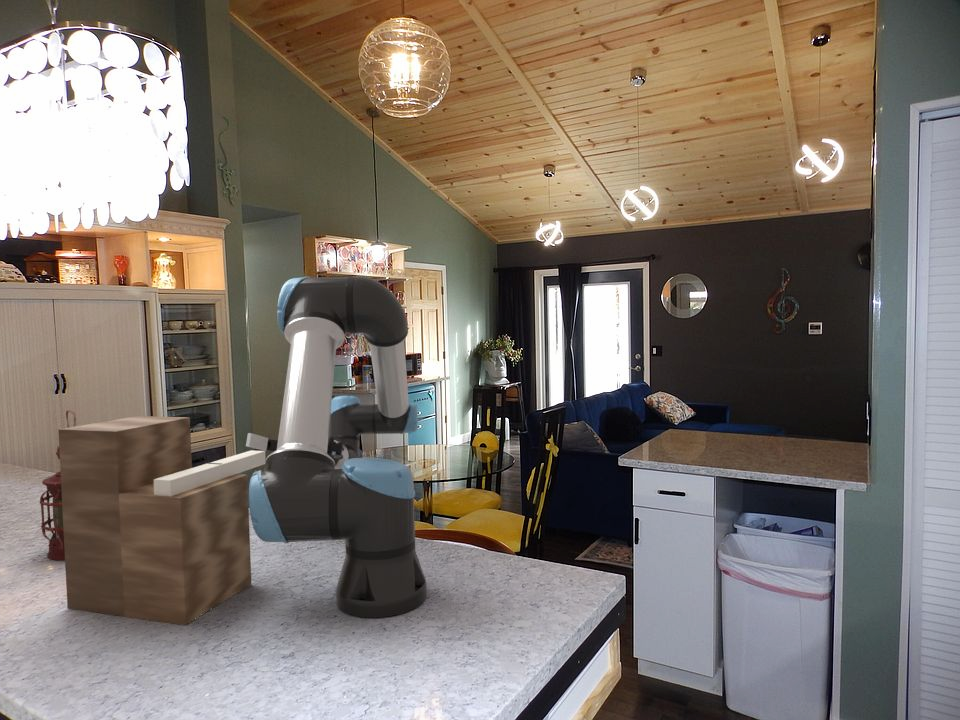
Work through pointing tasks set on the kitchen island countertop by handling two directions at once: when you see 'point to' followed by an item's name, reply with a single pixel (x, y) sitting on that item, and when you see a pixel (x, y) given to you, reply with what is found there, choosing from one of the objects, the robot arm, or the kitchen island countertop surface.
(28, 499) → the kitchen island countertop surface
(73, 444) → the two tier stand
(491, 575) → the kitchen island countertop surface
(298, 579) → the kitchen island countertop surface
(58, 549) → the lantern
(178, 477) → the domino bar
